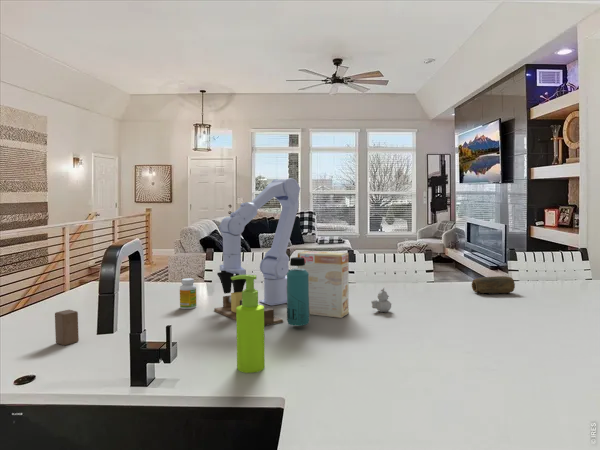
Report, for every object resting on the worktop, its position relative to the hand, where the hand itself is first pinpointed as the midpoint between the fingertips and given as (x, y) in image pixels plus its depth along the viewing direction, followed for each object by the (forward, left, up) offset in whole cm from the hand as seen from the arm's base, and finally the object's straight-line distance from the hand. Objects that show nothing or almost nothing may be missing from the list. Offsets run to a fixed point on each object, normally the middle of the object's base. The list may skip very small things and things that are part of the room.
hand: (232, 295), depth 142 cm
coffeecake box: (-21, +21, -5) cm, 30 cm away
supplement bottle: (+10, -13, -5) cm, 17 cm away
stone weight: (-92, +38, -6) cm, 100 cm away
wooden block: (+49, +3, -5) cm, 49 cm away
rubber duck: (-37, +31, -5) cm, 49 cm away
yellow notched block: (0, +6, -4) cm, 7 cm away
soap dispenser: (+21, +46, -5) cm, 51 cm away
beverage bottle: (-5, +29, -5) cm, 30 cm away
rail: (0, +9, -5) cm, 10 cm away
